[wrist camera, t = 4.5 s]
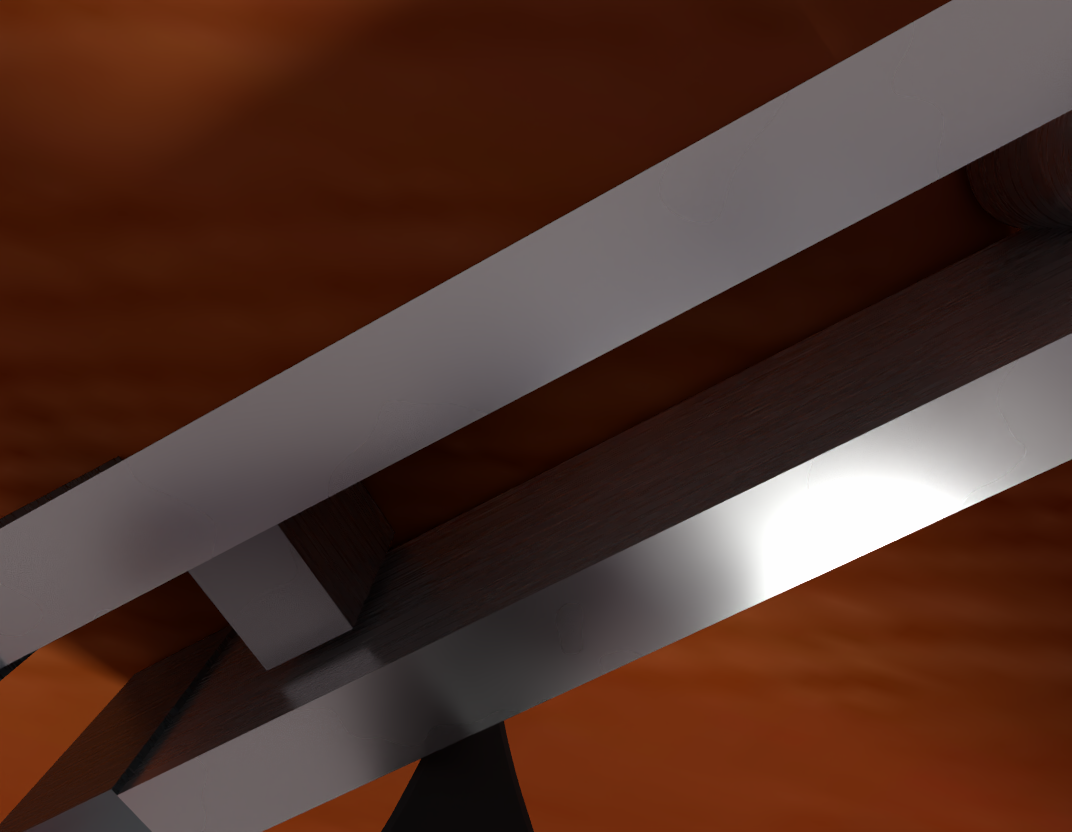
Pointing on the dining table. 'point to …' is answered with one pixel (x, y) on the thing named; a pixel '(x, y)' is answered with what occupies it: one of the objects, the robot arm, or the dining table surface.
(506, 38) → the dining table surface
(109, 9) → the dining table surface
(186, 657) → the tong arm
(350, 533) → the base
